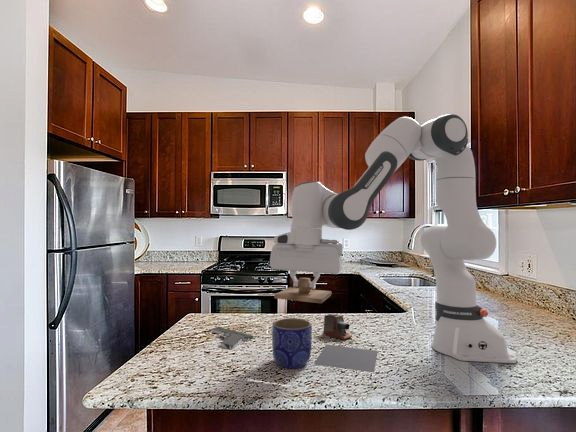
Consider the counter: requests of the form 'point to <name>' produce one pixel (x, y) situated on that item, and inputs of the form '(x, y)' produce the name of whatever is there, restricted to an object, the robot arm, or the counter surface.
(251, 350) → the counter surface
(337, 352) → the mat
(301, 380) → the counter surface
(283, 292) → the lid
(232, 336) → the handgun
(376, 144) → the robot arm
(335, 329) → the electronic device
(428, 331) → the counter surface
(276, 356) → the planter
